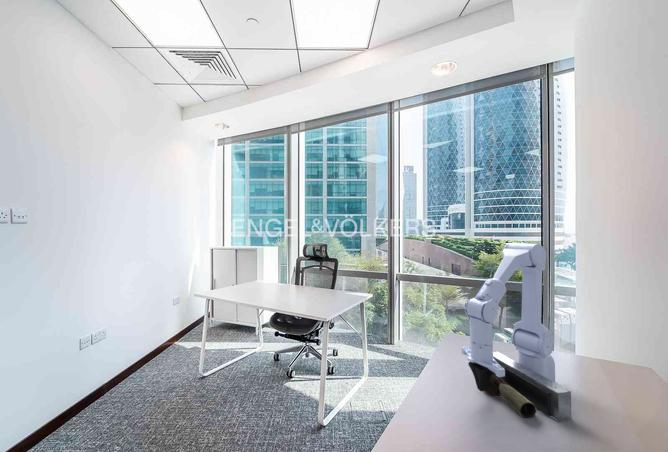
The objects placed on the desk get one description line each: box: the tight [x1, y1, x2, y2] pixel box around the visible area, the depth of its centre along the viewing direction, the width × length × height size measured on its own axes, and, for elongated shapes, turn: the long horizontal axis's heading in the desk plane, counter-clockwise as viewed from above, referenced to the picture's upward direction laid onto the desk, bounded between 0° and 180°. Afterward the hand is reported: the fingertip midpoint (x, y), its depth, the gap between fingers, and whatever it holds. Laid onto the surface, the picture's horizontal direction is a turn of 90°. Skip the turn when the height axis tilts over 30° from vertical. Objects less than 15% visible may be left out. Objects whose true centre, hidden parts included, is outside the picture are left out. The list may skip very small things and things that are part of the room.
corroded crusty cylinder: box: [484, 373, 538, 419], centre depth 80 cm, size 18×7×6 cm, turn 6°
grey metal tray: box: [493, 351, 573, 422], centre depth 82 cm, size 5×24×7 cm, turn 12°
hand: (482, 389), depth 79 cm, fingers closed
